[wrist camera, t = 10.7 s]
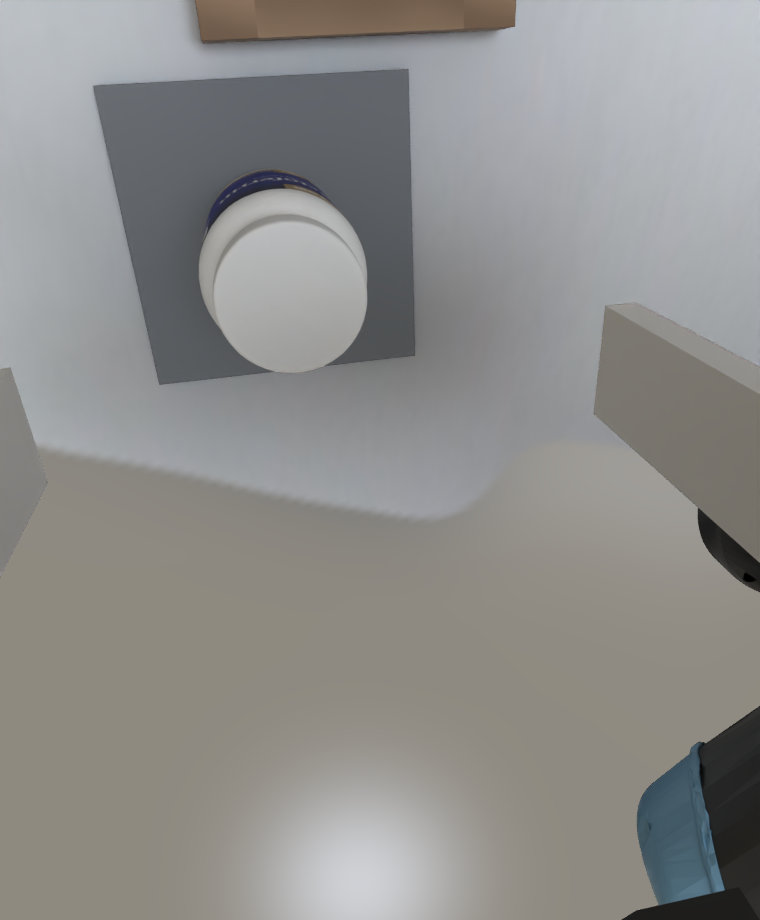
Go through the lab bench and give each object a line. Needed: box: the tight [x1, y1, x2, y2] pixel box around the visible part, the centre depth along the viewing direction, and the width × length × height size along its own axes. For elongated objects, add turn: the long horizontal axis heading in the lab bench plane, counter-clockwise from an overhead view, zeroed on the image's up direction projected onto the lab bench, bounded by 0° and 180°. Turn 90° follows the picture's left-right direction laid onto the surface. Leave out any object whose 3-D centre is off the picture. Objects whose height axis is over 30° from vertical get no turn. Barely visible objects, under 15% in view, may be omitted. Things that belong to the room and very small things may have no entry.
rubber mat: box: [93, 69, 415, 385], centre depth 29 cm, size 12×12×1 cm
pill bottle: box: [199, 169, 367, 373], centre depth 25 cm, size 6×6×10 cm
